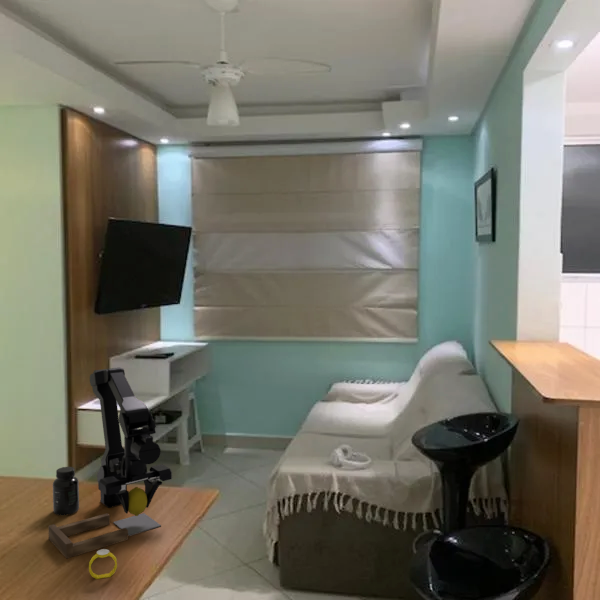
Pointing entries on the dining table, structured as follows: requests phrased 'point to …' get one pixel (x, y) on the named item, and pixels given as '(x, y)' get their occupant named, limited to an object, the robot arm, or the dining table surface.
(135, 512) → the lemon
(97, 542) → the shelf lane
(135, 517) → the mat
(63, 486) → the supplement bottle
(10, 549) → the dining table surface
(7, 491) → the dining table surface
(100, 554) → the watch
